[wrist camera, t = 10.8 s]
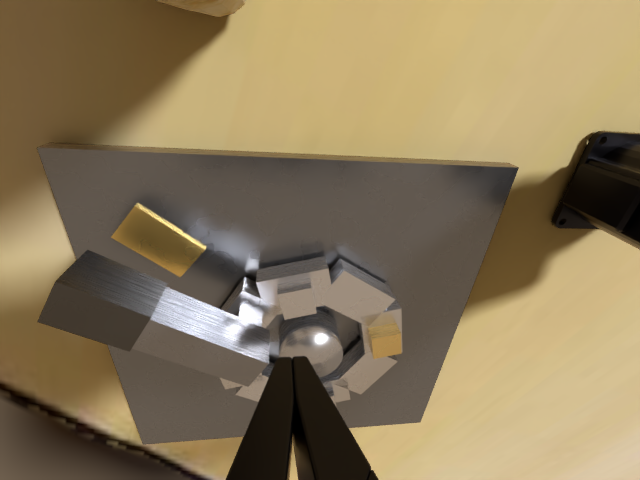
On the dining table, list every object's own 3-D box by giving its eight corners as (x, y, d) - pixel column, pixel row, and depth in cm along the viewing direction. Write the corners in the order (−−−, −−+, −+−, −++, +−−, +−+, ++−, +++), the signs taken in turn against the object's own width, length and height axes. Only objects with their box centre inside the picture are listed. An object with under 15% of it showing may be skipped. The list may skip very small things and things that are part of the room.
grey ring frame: (431, 310, 24) (465, 365, 19) (326, 408, 28) (334, 470, 24) (148, 147, 16) (100, 180, 11) (64, 319, 20) (7, 390, 16)
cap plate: (508, 162, 20) (548, 180, 17) (416, 412, 33) (430, 447, 30) (49, 142, 16) (-1, 161, 13) (146, 433, 29) (132, 475, 26)
